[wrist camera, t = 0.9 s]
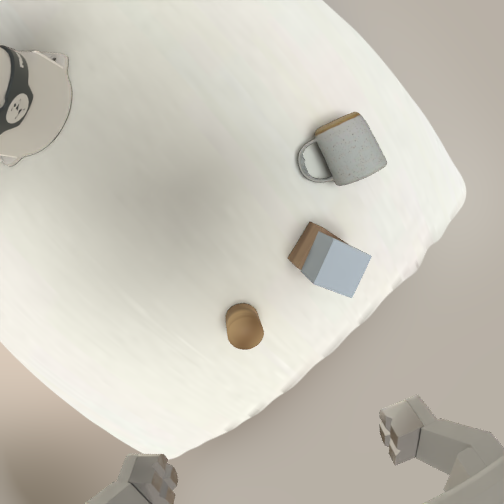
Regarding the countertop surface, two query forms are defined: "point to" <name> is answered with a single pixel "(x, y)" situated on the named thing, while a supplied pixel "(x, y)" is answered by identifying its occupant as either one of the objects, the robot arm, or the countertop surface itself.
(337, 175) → the ceramic mug
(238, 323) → the oak cylinder
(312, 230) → the walnut base block
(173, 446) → the countertop surface
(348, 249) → the slate upper block
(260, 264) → the countertop surface
